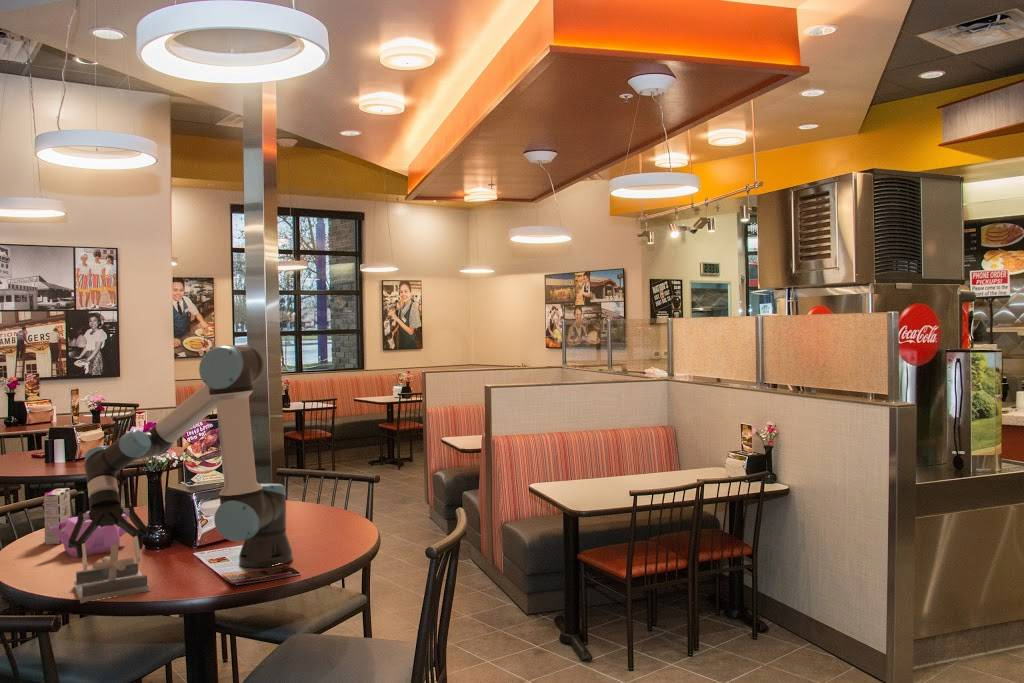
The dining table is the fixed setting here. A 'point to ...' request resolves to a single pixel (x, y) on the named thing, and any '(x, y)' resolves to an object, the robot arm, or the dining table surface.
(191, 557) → the dining table surface
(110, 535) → the teakettle
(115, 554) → the pipe connector
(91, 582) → the cradle plate
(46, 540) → the candy bar box
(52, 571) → the dining table surface
